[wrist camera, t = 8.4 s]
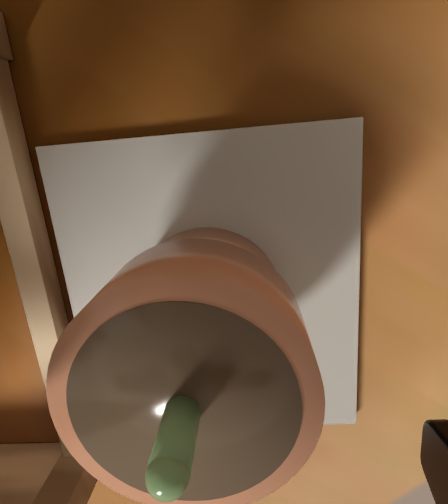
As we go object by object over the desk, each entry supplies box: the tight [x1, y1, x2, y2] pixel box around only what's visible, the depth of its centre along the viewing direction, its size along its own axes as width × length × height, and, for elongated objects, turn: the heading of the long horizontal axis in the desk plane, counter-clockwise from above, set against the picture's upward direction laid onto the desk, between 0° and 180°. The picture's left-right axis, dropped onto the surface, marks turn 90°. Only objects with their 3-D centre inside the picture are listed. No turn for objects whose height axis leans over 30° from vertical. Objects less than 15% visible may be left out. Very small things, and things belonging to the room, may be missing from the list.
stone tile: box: [35, 117, 363, 425], centre depth 14 cm, size 12×11×1 cm
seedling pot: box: [46, 227, 325, 504], centre depth 10 cm, size 6×6×8 cm
